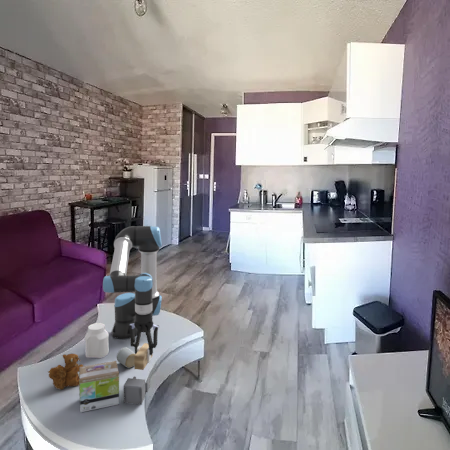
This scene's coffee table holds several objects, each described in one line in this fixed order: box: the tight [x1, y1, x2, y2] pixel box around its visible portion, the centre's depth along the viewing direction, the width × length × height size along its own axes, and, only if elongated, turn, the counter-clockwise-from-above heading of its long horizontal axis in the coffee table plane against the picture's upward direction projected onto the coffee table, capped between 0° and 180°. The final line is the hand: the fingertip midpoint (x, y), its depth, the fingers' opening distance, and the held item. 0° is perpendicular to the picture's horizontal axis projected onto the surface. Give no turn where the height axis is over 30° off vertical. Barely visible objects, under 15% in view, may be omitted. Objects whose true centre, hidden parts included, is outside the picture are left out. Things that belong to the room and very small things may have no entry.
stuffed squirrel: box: [47, 353, 84, 391], centre depth 155 cm, size 10×14×13 cm
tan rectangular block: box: [133, 342, 154, 371], centre depth 157 cm, size 12×4×6 cm, turn 173°
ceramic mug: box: [116, 346, 136, 369], centre depth 174 cm, size 11×8×8 cm
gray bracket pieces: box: [123, 375, 151, 405], centre depth 150 cm, size 12×8×8 cm, turn 175°
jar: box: [84, 322, 110, 359], centre depth 181 cm, size 12×10×15 cm
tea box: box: [78, 360, 120, 413], centre depth 144 cm, size 15×10×15 cm
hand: (144, 360), depth 157 cm, fingers closed on tan rectangular block, 4 cm apart
